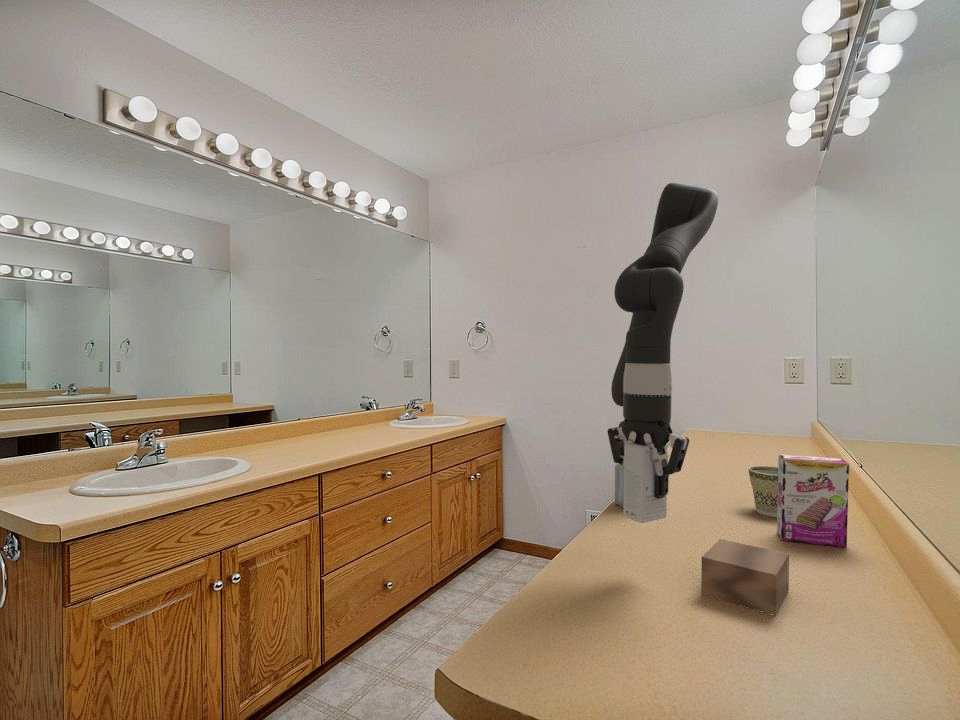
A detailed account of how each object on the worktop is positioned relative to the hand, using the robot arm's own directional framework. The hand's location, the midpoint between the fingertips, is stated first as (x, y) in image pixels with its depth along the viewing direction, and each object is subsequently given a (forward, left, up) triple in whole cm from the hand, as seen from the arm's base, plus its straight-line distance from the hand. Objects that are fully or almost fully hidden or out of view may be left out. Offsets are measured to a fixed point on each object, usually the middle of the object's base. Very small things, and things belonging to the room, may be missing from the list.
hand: (645, 493), depth 84 cm
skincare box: (0, 0, -4) cm, 4 cm away
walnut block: (+13, +6, -14) cm, 20 cm away
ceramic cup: (+3, +53, -14) cm, 55 cm away
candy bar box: (+13, +39, -14) cm, 44 cm away
